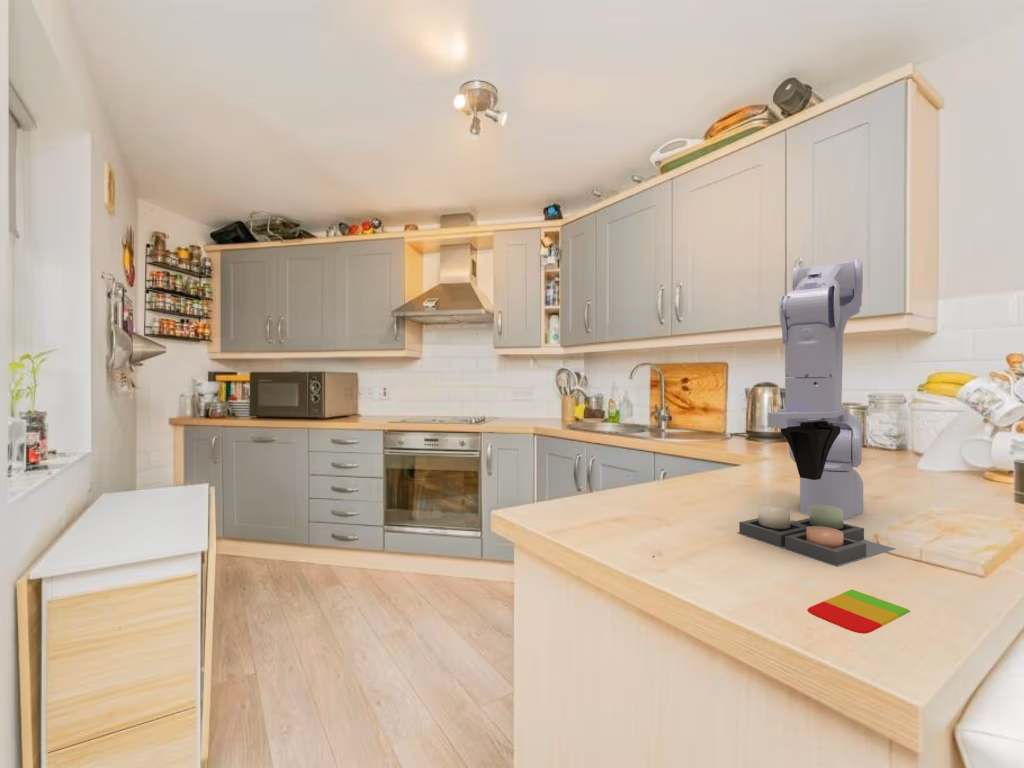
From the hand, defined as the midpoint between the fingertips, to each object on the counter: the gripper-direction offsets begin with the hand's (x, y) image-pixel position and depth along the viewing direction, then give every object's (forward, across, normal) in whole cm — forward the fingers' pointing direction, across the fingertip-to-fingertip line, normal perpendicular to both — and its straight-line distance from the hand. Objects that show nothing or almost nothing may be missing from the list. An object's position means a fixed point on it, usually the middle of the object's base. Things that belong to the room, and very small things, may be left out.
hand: (810, 478), depth 63 cm
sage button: (+7, -5, -1) cm, 9 cm away
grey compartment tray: (+10, -2, -1) cm, 11 cm away
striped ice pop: (+11, +11, +13) cm, 20 cm away
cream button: (+7, +1, -5) cm, 9 cm away
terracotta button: (+9, +1, +2) cm, 9 cm away
